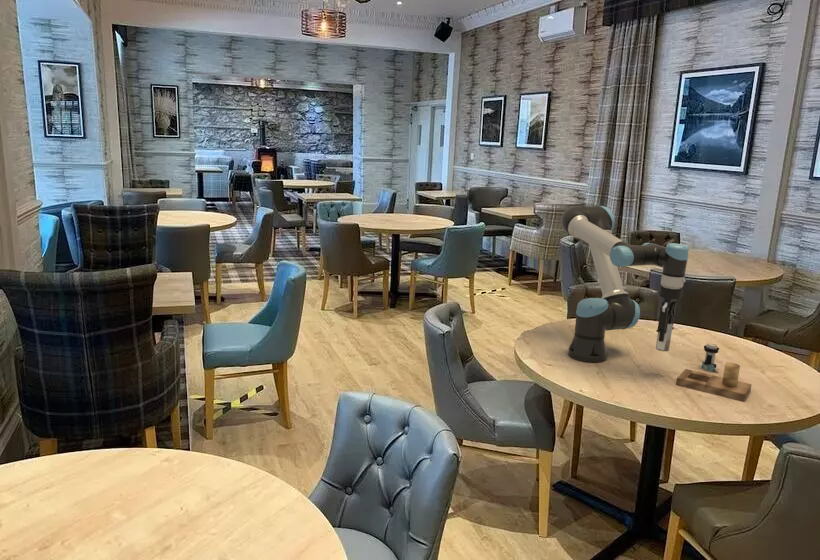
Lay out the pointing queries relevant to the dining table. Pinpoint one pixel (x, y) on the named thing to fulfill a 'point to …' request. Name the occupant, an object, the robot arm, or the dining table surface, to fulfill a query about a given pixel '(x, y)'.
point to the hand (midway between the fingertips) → (662, 347)
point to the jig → (717, 382)
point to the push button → (710, 357)
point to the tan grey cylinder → (668, 338)
